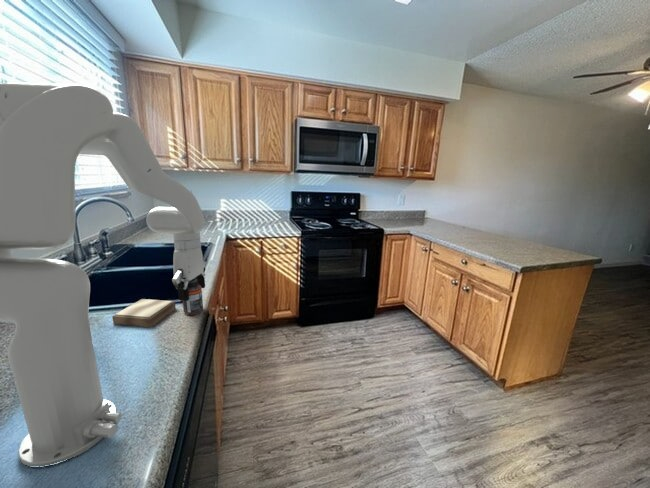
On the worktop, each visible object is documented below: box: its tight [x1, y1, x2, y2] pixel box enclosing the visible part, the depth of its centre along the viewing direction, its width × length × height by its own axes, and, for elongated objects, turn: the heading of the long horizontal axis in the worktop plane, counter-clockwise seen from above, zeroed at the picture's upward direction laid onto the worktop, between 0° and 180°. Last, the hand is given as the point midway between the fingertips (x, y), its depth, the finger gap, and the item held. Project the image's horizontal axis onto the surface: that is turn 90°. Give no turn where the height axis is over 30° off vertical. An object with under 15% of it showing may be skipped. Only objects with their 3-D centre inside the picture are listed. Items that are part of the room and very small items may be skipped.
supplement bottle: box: [182, 278, 204, 316], centre depth 91 cm, size 6×6×11 cm
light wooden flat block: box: [112, 298, 177, 328], centre depth 88 cm, size 12×12×3 cm
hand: (192, 293), depth 91 cm, fingers open, 9 cm apart
